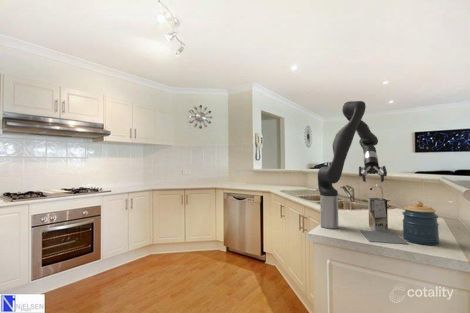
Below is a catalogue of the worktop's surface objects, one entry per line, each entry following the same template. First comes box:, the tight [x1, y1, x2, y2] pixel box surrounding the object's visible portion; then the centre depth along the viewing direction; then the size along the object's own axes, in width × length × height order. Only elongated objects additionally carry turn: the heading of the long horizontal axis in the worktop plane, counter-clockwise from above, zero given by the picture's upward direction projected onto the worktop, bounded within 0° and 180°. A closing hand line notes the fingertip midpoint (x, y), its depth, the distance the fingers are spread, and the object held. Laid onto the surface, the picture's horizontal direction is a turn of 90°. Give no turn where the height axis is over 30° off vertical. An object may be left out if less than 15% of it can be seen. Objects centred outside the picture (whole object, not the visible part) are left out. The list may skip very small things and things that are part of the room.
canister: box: [401, 201, 440, 246], centre depth 108 cm, size 13×13×18 cm
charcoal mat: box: [360, 229, 409, 245], centre depth 113 cm, size 15×17×1 cm
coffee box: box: [367, 197, 389, 232], centre depth 126 cm, size 9×6×16 cm
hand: (373, 181), depth 137 cm, fingers open, 8 cm apart
